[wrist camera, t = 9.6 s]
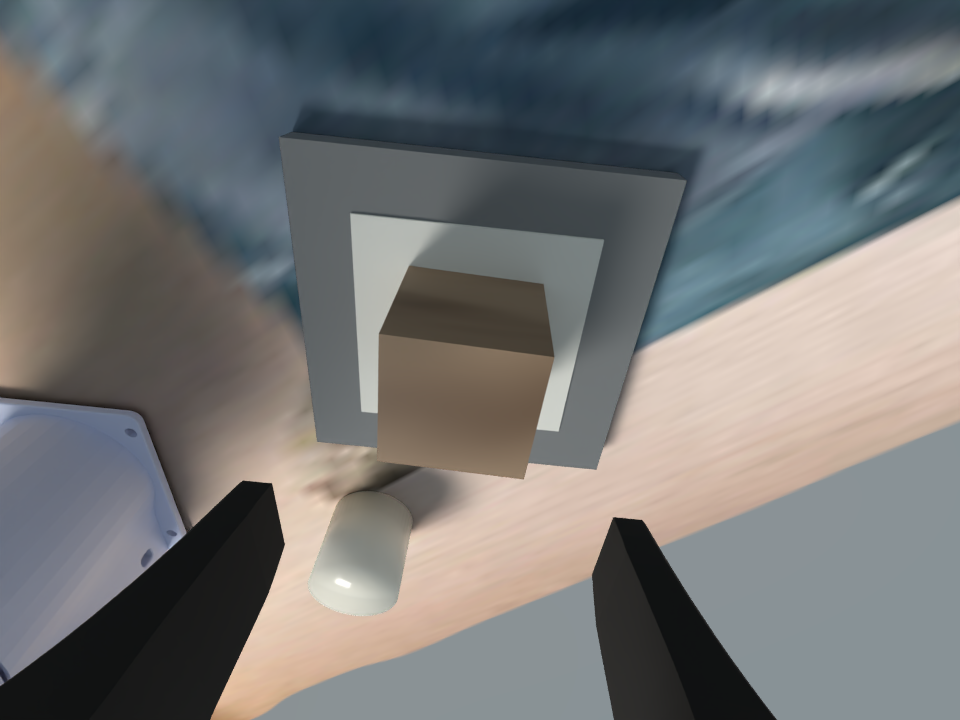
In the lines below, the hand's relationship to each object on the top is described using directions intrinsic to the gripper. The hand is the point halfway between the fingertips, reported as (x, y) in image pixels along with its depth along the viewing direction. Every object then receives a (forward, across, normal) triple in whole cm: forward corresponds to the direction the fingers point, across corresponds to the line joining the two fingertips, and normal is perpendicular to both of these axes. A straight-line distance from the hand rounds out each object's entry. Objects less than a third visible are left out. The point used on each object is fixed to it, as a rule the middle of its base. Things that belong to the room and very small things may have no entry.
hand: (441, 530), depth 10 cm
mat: (+9, 0, 0) cm, 9 cm away
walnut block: (+8, 0, 0) cm, 8 cm away
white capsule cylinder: (+10, +4, +12) cm, 16 cm away
